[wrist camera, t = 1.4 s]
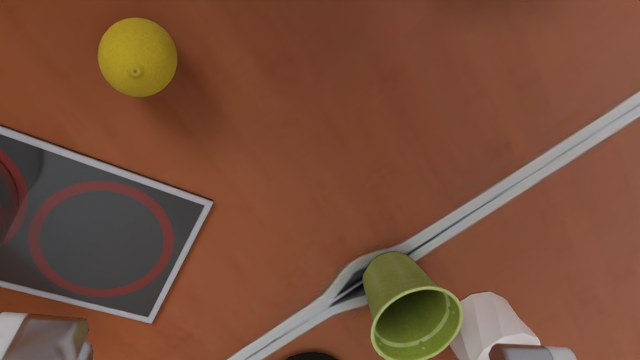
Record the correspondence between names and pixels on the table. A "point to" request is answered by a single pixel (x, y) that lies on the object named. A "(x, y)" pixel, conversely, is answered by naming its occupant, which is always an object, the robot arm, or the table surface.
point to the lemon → (137, 57)
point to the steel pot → (7, 202)
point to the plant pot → (408, 309)
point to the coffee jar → (311, 356)
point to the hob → (93, 229)
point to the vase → (488, 327)
